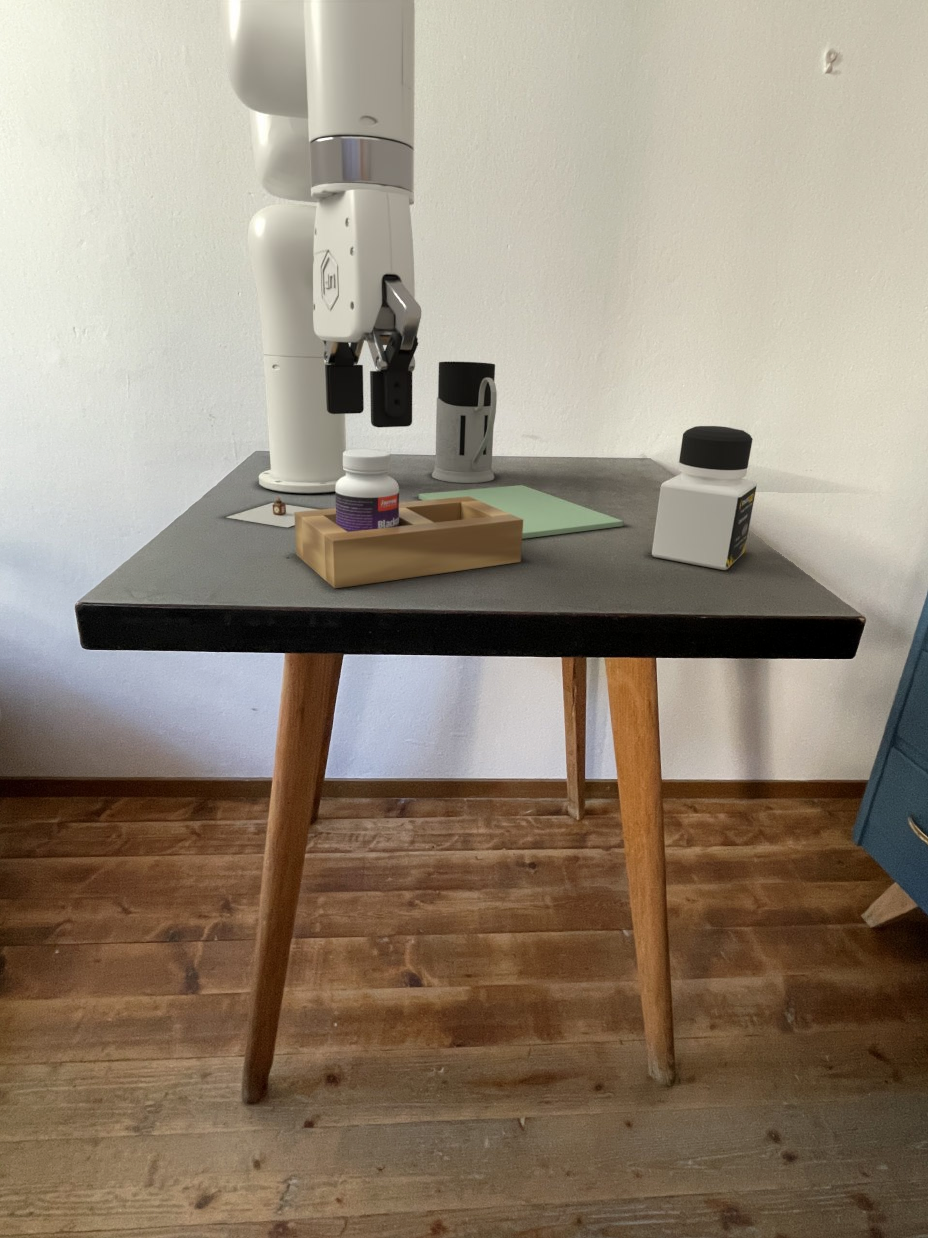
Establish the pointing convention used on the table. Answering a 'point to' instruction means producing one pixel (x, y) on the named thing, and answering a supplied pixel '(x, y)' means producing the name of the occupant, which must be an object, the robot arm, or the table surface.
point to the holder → (409, 542)
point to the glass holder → (465, 422)
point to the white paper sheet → (272, 514)
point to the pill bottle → (366, 492)
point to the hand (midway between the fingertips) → (367, 419)
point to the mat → (535, 510)
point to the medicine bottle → (707, 500)
